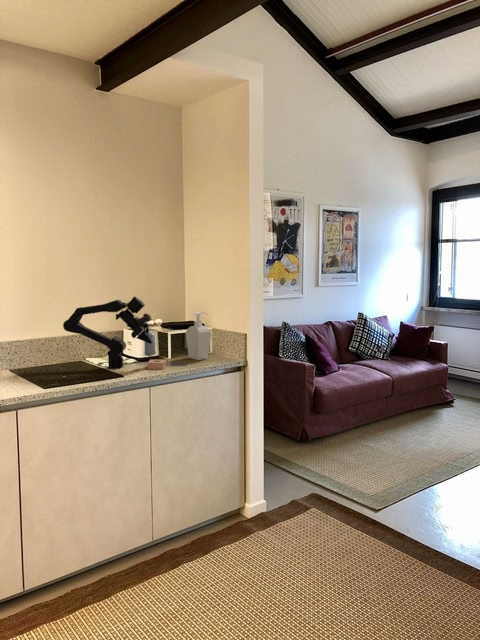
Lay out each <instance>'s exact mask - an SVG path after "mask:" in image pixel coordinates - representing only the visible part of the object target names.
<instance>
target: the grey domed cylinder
mask: <svg viewBox="0 0 480 640" xmlns="http://www.w3.org/2000/svg"><path fill="white" fill-rule="evenodd" d="M146 334H147V336H148V337H149V338H150V340H151V341H152V343H151V344H150V343H147V342H145V341H144V355H145V356H154V355H156V333H155V332H150V333H146Z"/></svg>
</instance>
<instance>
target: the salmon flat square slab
mask: <svg viewBox="0 0 480 640" xmlns="http://www.w3.org/2000/svg"><path fill="white" fill-rule="evenodd" d="M166 367H167V360H166V359H149V361H148V362H147V370H164V369H165V368H166Z"/></svg>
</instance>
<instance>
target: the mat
mask: <svg viewBox="0 0 480 640" xmlns="http://www.w3.org/2000/svg"><path fill="white" fill-rule="evenodd" d="M188 364H189V362H171V363H170V364H169V365H168V366H169V367H187V366H188Z"/></svg>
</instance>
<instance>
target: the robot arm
mask: <svg viewBox="0 0 480 640" xmlns="http://www.w3.org/2000/svg"><path fill="white" fill-rule="evenodd" d="M145 306H146V305H145V303H144V302H143V301H142V300H140V299H139V298H138V297H136V296H133V297H132V298H131V300H129V301H128V302H123V301H122V300H120V299H116V300H112V301H109V302H106V303H103V304H97V305H90V306H88V305H87V306H82V307H81V306H80V307H77V308H76V309H75V310H74V311H73V313H72V314H71V315H70V316H69V318H68V319H67V320H65V321H64V322H63V324H62V327H63V330H64V331H66V332H69V333H73V334H77V335H78V334H79V335H82V336H84V337H87V338H89V339H91V340H92V341H95V342H97V343H99V344H102V345H104V346H106V347H107V349H109V350H108V351H107V356H108V359H107V360H108V367H107V369H122V367H124V357H123V352H124V351H125V350H126V348H127V344H126V342H125V340H124V339H123V338H119V337H118V336H113V337H109V336H106V335H105V334H102V333H100V332H99V331H96V330H93V329H90V328H89V327H86V326H85V325H84V324H83V323H82V322H80V321H81V320H82V319H83V316H84V315H91V314H97V313H103V312H104V313H106V312H107V313H115V320H116V321H118V320H119V319H121V320H122V321H123V322H124V323H125V324H126V327H127V328H130V329H131V330H132V332H131V333H130V334H131V335H130V336H131V337H132V338H133V339H138V340H139V341H140V340H141V341H143V342H144V343H145V342H147V343H150V344H151V343H152V341H151V340H150V338H149V337H148V336H147V334H146V333H151V332H150V323H148V322H150V321H152V320H153V319H152V316H151V314H149V313H147V312H146V313H144V314H143V315H142V317H138V316H135V315H134V314H138V313H139V312H140V311H141V310H142V309H143V308H144V307H145ZM118 312H119V313H118Z"/></svg>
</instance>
